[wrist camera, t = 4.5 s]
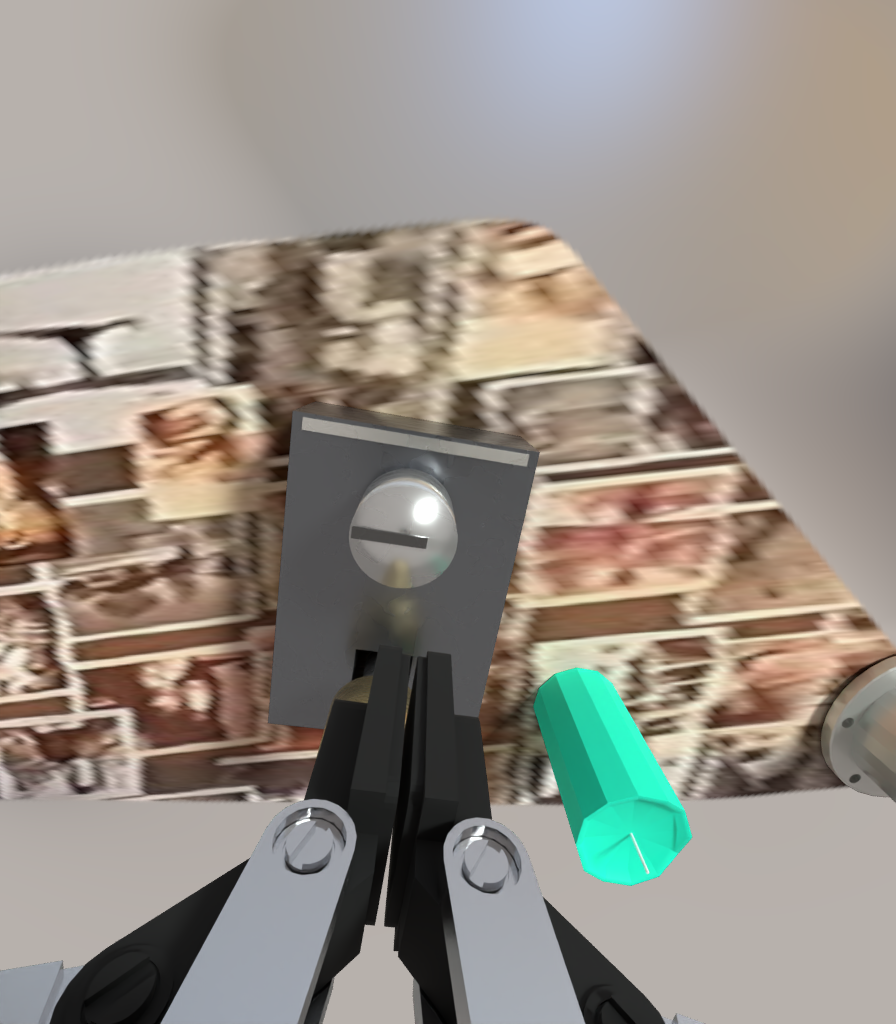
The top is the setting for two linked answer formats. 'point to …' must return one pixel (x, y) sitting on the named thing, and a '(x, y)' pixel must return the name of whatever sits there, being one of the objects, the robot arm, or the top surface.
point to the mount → (365, 602)
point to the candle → (608, 780)
